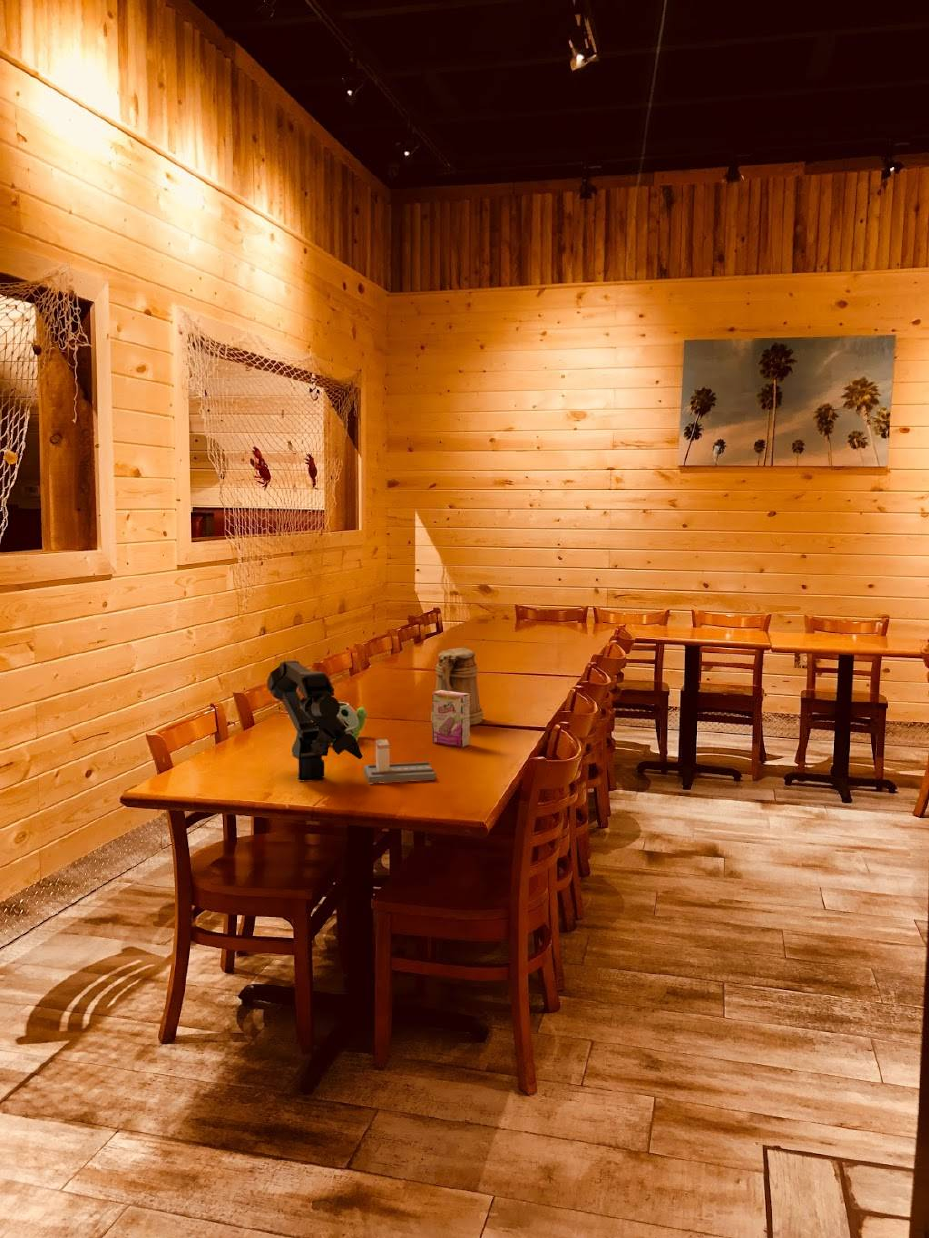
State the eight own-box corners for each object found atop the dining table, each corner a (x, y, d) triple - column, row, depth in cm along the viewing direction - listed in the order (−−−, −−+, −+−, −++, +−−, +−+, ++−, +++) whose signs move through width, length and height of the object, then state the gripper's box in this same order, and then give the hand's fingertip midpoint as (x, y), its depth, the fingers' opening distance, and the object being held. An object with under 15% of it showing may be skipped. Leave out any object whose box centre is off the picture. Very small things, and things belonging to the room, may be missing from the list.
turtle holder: (378, 738, 313) (378, 702, 311) (332, 748, 300) (331, 710, 299) (355, 732, 322) (355, 696, 320) (309, 741, 309) (308, 704, 308)
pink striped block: (378, 772, 265) (378, 745, 264) (375, 766, 271) (375, 739, 270) (389, 771, 266) (389, 744, 265) (386, 765, 271) (386, 739, 271)
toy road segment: (368, 784, 262) (368, 774, 261) (364, 772, 273) (364, 763, 273) (434, 780, 265) (434, 771, 265) (427, 768, 277) (427, 759, 277)
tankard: (488, 717, 344) (488, 647, 342) (472, 732, 322) (472, 657, 319) (438, 714, 349) (438, 645, 346) (420, 729, 326) (419, 655, 323)
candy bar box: (431, 743, 306) (431, 692, 304) (440, 740, 311) (440, 689, 309) (462, 748, 301) (462, 695, 299) (470, 744, 305) (470, 692, 303)
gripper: (298, 728, 270) (335, 768, 274) (302, 745, 252) (342, 788, 255) (328, 701, 271) (365, 741, 274) (335, 716, 253) (374, 759, 256)
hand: (361, 757), depth 265 cm, fingers closed
